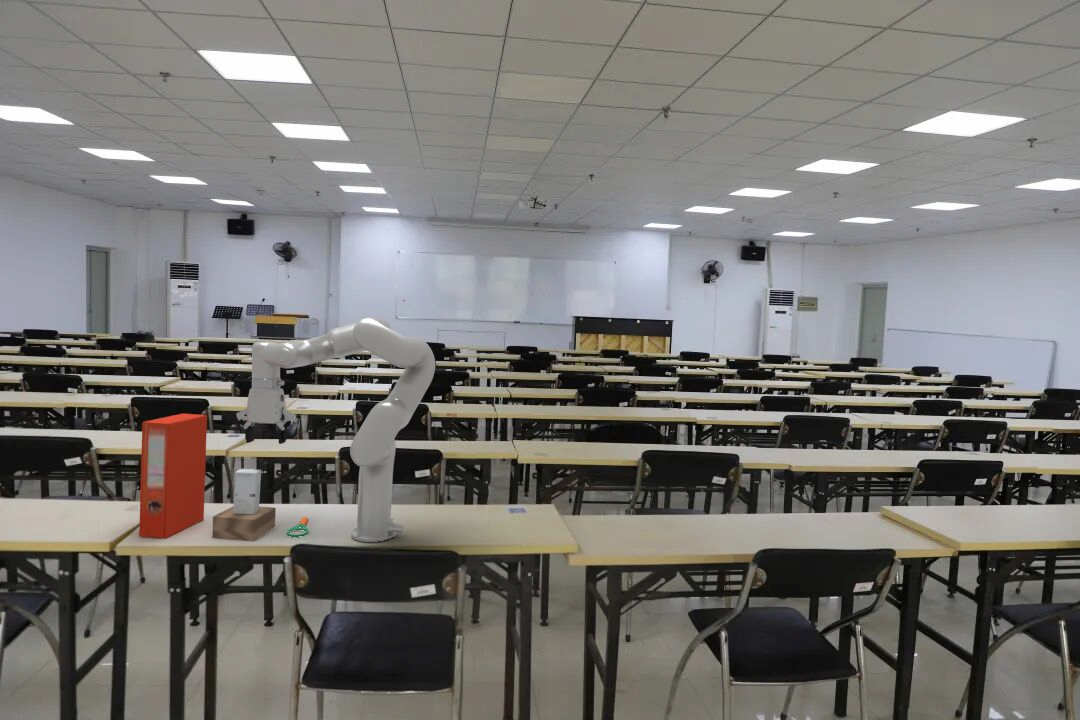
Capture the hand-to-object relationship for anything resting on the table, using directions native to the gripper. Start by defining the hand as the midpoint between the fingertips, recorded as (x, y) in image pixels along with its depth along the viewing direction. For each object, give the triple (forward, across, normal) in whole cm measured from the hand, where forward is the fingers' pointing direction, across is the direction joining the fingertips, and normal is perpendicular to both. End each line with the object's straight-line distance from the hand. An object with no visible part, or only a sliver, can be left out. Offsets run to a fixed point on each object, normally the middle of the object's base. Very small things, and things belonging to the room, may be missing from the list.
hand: (266, 442), depth 187 cm
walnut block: (+25, +4, +5) cm, 26 cm away
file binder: (+25, +25, +5) cm, 36 cm away
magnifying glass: (+26, -10, -2) cm, 28 cm away
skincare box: (+20, +3, +5) cm, 20 cm away
